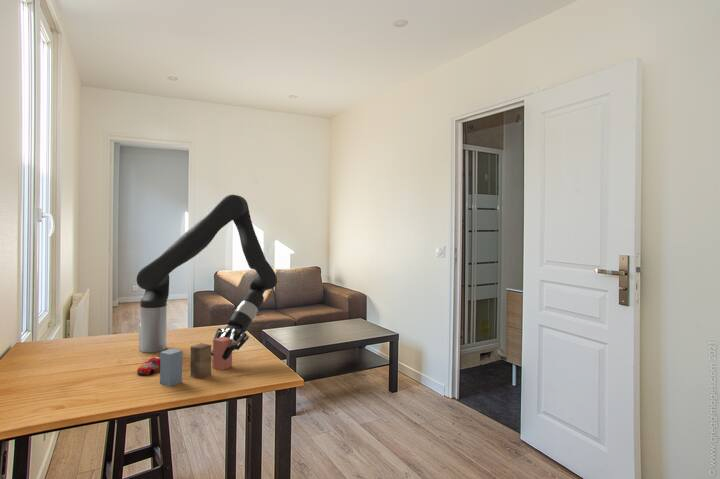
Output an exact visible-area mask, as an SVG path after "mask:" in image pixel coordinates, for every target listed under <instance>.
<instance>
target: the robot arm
mask: <svg viewBox="0 0 720 479" xmlns="http://www.w3.org/2000/svg"><path fill="white" fill-rule="evenodd" d="M249 209H250V208H249V204H248V202H247V200H246V199H245V198H244V197H243V196H241V195H237V194H228V195H226V196H224V197H223V198H222V199H221V200H220V201H219V202H218V203H217V204H216V205H215V207H213V209H212V210H211V211H210V212H209V213H208V214H207V215H206V216H204V217H203V218H202V219H200V220H198V221H197V222H196V223H195V224H194V225H193V226H191V227H190V228H188V229H187V231H185V232H184V233H183V234H182V235H180V237H179V238H178V239H176V240H175V241H174V242H173V243H172V244H171V245H170V246H169V247H168V248H167V249H166V250H165V251H163V253H162V254H161V255H159V256H158V257H156V258H155V259H154V260H152V261H151V262H149V263H148V264H147V265H145V266H144V267H143V268H141V269H140V270H139V271H138V273H137V275H136V283H137V286H138V287H139V288H140V289H142V290H144V294H143V296H142V298H141V299H140V304H139V305H140V318H139V319H140V322H139V323H140V324H139V326H138V350H140V352H142V353H157V352H162V351H166V349H167V329H168V328H167V324H168V323H167V320H168V318H167V317H168V316H167V314H168V313H167V311H168V310H167V306H168V304H167V302H168V298H169V295H170V294H169V293H170V273H172V272H173V271H174V270H175V269H177V268H178V267H180V266H182V265H184V264H185V263H187V262H188V261H190V260H191V259H193V258H194V257H196V256H197V255H199V254H200V253H201V252H202V251H203V250H205V249H206V248H207V247H208V246H209V245H210V244H211V242H212V241H213V240H214V238H215V237H216V235H217V234H218V233H219V231H221V229H223V228H224V227H225V226H226V225H228V224H229V223H231V222H232V221H233V223H234V225H235V227H236V229H237V232H238V235H239V239H240V245H241V249H242V252H243V255H244V258H245V260H246V263H247V265H248V267H249V268H250V269H251V270H254V271H256V273H257V274H256V275H255V276H254V277H253V278H252V280H251V282H250V284H249V286H248V289H247V291H246V292H247V293H246V294H245V296H244V297H243V298H242V300H241V302H239V304H238V305H237V307H236V309H235V310H234V311H233V313H232V314H231V316H230V317H229V319H228V320H227V322H228V323H227V325H226V326H225V327H224V328H221V327H218V328H217V330H216V332H215V335H214V337H213V339H217V338H220V337H227V338H230V343H229V345H228V347H227V348H226V350H225V352H224V353H223V355H222V358H223V359H225V360H226V359H227V358H228V357H229V356H230V354H231V353H232V354H233V352H234V351H235V350H236V351H238V350H240V349H241V348H242V347H243V345H244V344H245V343H246V342H247V341H248V340H249V339H250V336H249V335H248V334H247V333H246V332H247V331H248V329H249V327H250V326H251V324H252V322H253V321H254V319H255V318H256V316H257V313H258V312H259V309H260V308H261V306H262V304H263V302H264V300H265V298H264V293H265V292H266V291H269V290H272V289H274V288H275V287H276V286H277V283H278V278H277V277H278V276H277V275H276V274H277V273H276V272H275V270H274V269H273V268H272V266H271V265H270V263H269V262H268V260H267V259H266V257H265V254H264V252H263V249H262V246H261V243H260V242H259V241H260V240H259V239H258V236H257V235H256V232H255V231H256V230H255V228H254V225H253V222H252V218H251V214H250V210H249ZM211 357H213V349H211Z"/></svg>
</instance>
